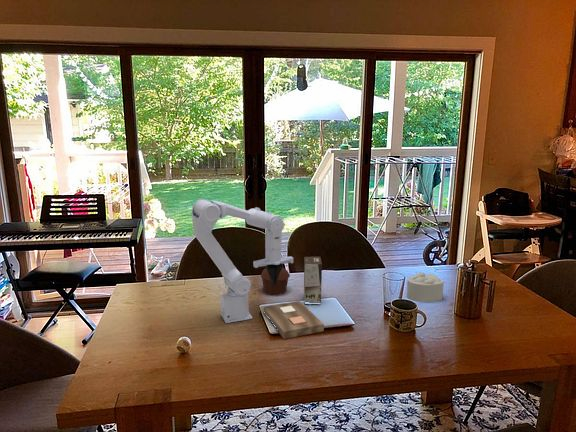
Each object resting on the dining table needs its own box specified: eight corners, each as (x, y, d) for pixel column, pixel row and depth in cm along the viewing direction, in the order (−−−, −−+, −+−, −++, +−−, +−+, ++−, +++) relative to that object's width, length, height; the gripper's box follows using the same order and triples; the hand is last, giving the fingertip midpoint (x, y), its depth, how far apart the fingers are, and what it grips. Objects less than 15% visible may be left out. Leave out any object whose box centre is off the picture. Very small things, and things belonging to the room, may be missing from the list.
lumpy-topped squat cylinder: (445, 301, 171) (447, 279, 169) (413, 303, 168) (414, 281, 166) (432, 290, 181) (433, 270, 179) (401, 292, 178) (402, 272, 176)
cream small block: (284, 319, 155) (283, 312, 154) (279, 314, 159) (279, 307, 158) (295, 317, 157) (295, 310, 156) (291, 312, 161) (291, 305, 160)
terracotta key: (293, 330, 147) (293, 323, 146) (288, 325, 151) (288, 318, 150) (306, 328, 148) (306, 321, 148) (300, 322, 152) (301, 316, 152)
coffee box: (321, 305, 167) (322, 264, 163) (304, 305, 167) (304, 263, 163) (320, 295, 176) (320, 256, 172) (303, 295, 176) (304, 256, 172)
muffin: (256, 294, 177) (256, 270, 175) (266, 284, 187) (265, 261, 185) (285, 297, 174) (285, 273, 171) (293, 287, 184) (293, 264, 182)
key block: (283, 339, 142) (283, 331, 142) (263, 313, 160) (263, 306, 160) (323, 331, 147) (323, 324, 147) (299, 307, 165) (299, 300, 165)
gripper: (257, 253, 153) (258, 290, 156) (296, 248, 159) (296, 284, 162) (251, 247, 160) (252, 283, 163) (289, 243, 165) (289, 278, 168)
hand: (273, 283), depth 163 cm, fingers closed
